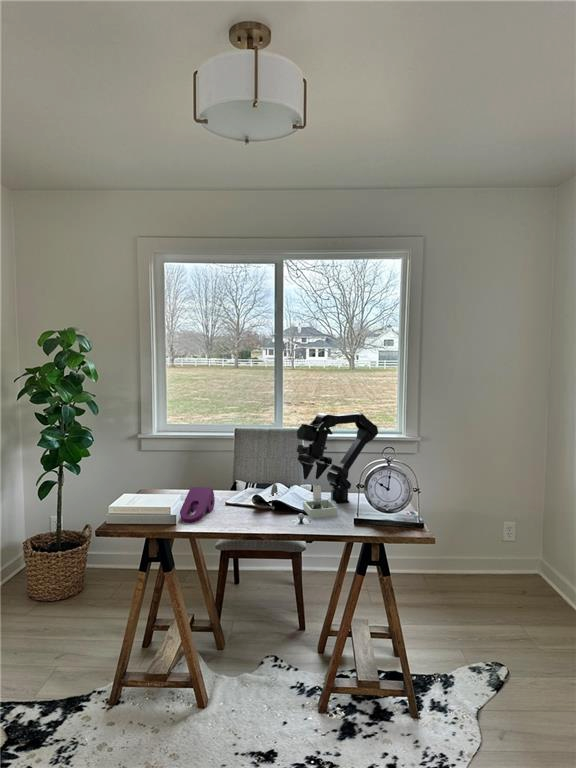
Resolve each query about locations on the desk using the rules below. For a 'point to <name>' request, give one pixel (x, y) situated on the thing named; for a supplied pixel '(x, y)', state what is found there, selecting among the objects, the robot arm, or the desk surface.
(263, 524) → the desk surface
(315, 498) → the strut
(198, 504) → the mounting bracket
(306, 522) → the stud plate
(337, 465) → the robot arm
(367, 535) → the desk surface
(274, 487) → the pocket watch
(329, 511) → the bin
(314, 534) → the desk surface
